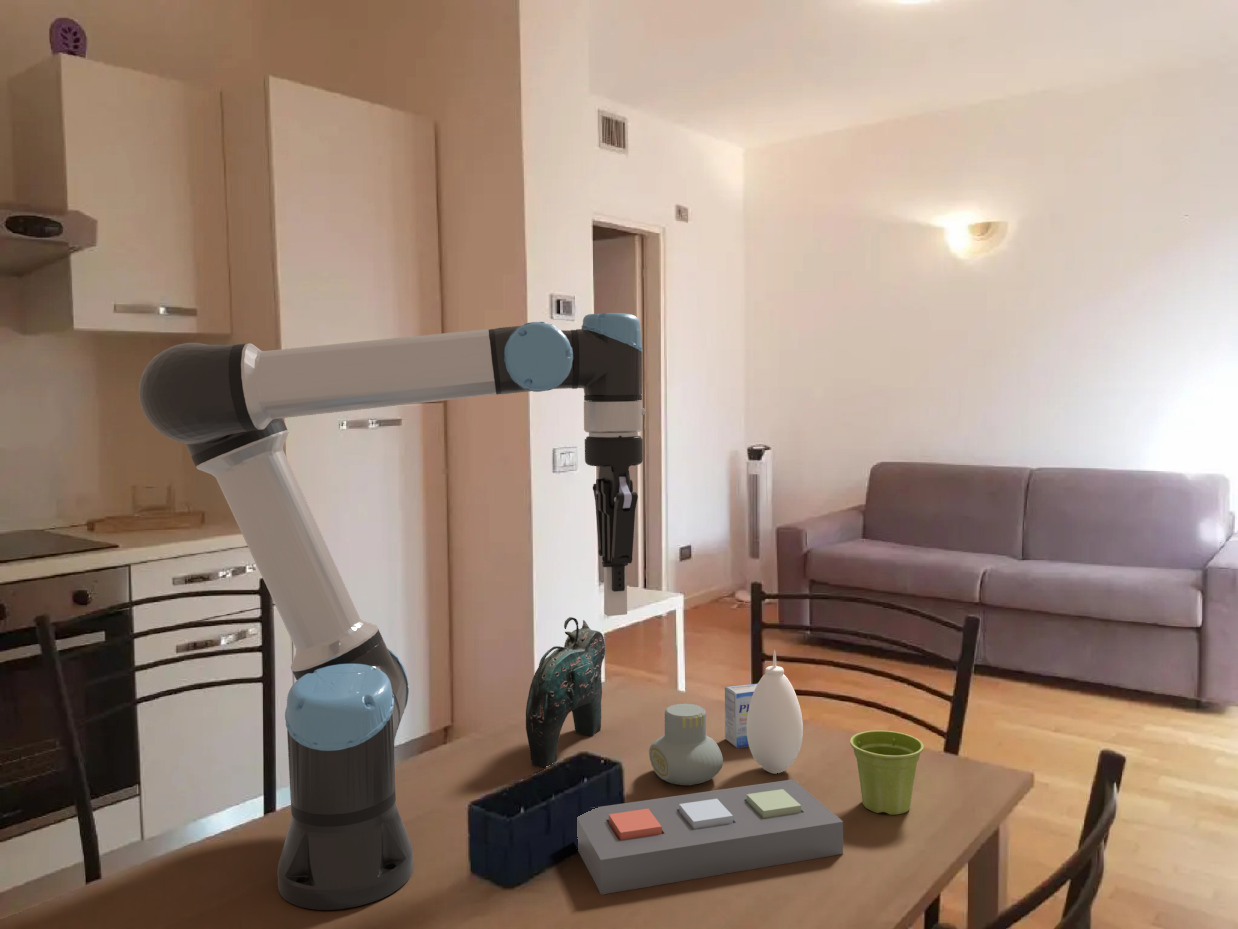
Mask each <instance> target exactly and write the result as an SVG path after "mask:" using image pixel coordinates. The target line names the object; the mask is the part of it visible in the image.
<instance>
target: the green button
mask: <svg viewBox="0 0 1238 929" xmlns="http://www.w3.org/2000/svg"><path fill="white" fill-rule="evenodd" d="M747 804H748V805H749V806H750V807H751V808H752V809H753V810H754V811H755V812H756V813H757V814H758V815H759V816H760V817H761V818H762V819H764V818H770V817H777V816H783V815H790V814H797V813H801V805H800V804H799V803H798V802H797V801H796V800H795V799H793V798H792V797H791V796H790V795H789V794H788V793H787V792H786V791H785V790H783V789H780V790H773V791H766V792H759V793H752V794H747Z"/></svg>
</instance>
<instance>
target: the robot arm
mask: <svg viewBox="0 0 1238 929" xmlns="http://www.w3.org/2000/svg"><path fill="white" fill-rule="evenodd" d="M641 331H642V330H641V321H640V320H639V318H638V317H637V316H636V315H634V314H631V313H625V312H621V313H620V312H606V313H589V314H587V315H585V316H584V317H583V319H582V325H581V328H580V329H579V328H576V329H570V330H563V329H560V328H558V326H556V325H554V324H553V323H552V324H551V323H548V322H547V321H531V322H526V323H524V324H522V325H516V326H503V327H495V328H490V329H489V328H483V329H474V330H464V331H454V332H453V331H452V332H444V333H433V334H432V333H431V334H425V335H416V336H415V335H413V336H404V337H403V336H401V337H393V338H384V339H383V338H382V339H373V340H364V341H353V342H344V343H334V344H323V345H313V346H304V347H295V348H294V347H291V348H283V349H281V348H280V349H274V350H272V349H271V350H261V349H260V348H259V347H257V346H256V345H254V344H253V343H251V342H250V343H240V344H207V343H201V342H186V343H179V344H175V345H173V346H171V347H168V348H166V349H164V350H162V351H160V353H158V354H156V355H155V356H154V357H153V358H152V359H151V360H150V361H149V362H148V363H147V365H146V366H145V368H144V369H143V371H142V374H141V376H140V379H139V386H138V399H139V400H138V401H139V404H140V408H141V411H142V412H143V415H144V417H145V418H146V421H147V422H149V424H150V425H151V426H152V427H153V428H154V429H155V430H156V431H157V432H158V433H159V434H161V435H162V436H164V437H167V439H170V440H172V441H175V442H178V443H181V444H184V445H185V446H186V449H187V451H188V453H189V456H190V458H191V459H192V461H193V463H194V464H193V465H194V466H195V467H196V469H197V470H199V471H202V472H204V473H207V474H209V475H212V476H213V477H214V478H215V479H216V481H217V484H218V486H219V487H220V490H221V492H222V494H223V496H224V498H225V500H226V502H227V505H228V506H229V508H230V509H229V510H230V511H231V514H232V516H233V518H234V519H235V521H236V525H237V526H238V528H239V531H240V532H241V534H242V537H243V540H244V541H245V543H246V546H247V548H248V549H249V552H250V554H251V556H252V559H253V560H254V562H255V564H256V567H257V569H258V571H259V573H260V575H261V578H262V579H263V580H262V581H264V584H265V585H266V588H267V590H268V593H269V594H270V597H271V599H272V602H274V606H275V607H276V609H277V611H278V614H279V616H280V618H281V621H282V622H283V624H284V627H285V629H286V631H287V632H288V635H289V637H290V640H291V641H292V643H293V645H294V648H295V654H294V657H293V660H292V663H291V664H290V670H291V672H292V674H293V676H294V678H295V680H296V681H295V682H294V683H293V685H291V687H290V689H289V690H288V693H287V695H286V696H287V697H286V708H285V712H284V720H285V727H286V729H287V730H286V732H287V752H288V754H287V755H288V772H289V773H288V775H289V794H290V795H289V796H290V798H289V799H290V814H291V816H290V817H291V818H290V822H289V825H288V826H289V827H288V830H287V833H286V836H285V841H284V843H283V847H282V849H281V853H280V856H279V861H278V864H277V871H276V872H277V889H278V893H279V895H280V896H281V897H282V898H283V899H284V901H286V902H288V903H289V904H292V905H294V906H296V907H299V908H303V909H310V910H315V911H316V910H318V911H319V910H321V911H331V910H332V911H333V910H335V911H336V910H344V909H345V910H346V909H351V908H355V907H359V906H364V905H367V904H371V903H373V902H376V901H379V900H381V899H384V898H386V897H388V896H389V895H391V894H393V893H396V891H398V890H399V889H401V888H402V887H403V886H404V885H405V884H406V883H407V882H408V881H409V879H410V878H411V876H412V874H413V872H414V850H413V845H412V842H411V839H410V837H409V834H408V832H407V829H406V827H405V823H404V822H403V819H402V816H401V814H400V811H399V809H398V806H397V797H396V766H395V764H396V762H395V741H396V736H397V733H398V730H399V728H400V727H399V726H400V725H401V722H402V719H403V715H404V714H405V711H406V708H407V705H408V701H409V689H410V688H409V680H408V675H407V671H406V670H405V666H404V665H403V663H402V661H401V660H400V658H399V657H398V656H397V655H396V653H394V652H393V651H392V650H390V648H388V646H387V644H386V643H385V640H384V638H383V636H382V634H381V631H380V629H379V627H378V626H377V625H376V624H372V623H370V622H366V621H364V620H363V619H362V618H360V615H359V613H358V611H357V609H356V607H355V604H354V602H353V599H352V597H351V595H350V594H349V591H348V589H347V587H346V584H345V582H344V581H343V578H342V576H341V574H340V572H339V569H338V567H337V565H336V563H335V560H334V558H333V556H332V553H331V551H330V550H329V547H328V545H327V544H326V541H325V539H324V537H323V535H322V532H321V531H320V528H319V526H318V523H317V522H316V518H315V517H314V515H313V513H312V510H311V508H310V506H309V504H308V502H307V500H306V499H307V498H305V496H304V493H303V491H302V489H301V486H300V484H299V482H298V480H297V477H296V475H295V473H294V471H293V469H292V467H291V465H290V462H289V460H288V458H287V456H286V454H285V452H284V445H285V443H286V440H287V438H288V436H289V433H290V432H289V429H288V427H287V425H286V423H285V421H284V419H286V418H297V417H305V416H307V417H308V416H315V415H322V414H332V413H339V412H340V413H341V412H342V413H343V412H350V411H358V410H359V411H361V410H369V409H376V408H377V409H378V408H386V407H395V406H397V407H398V406H406V405H414V404H422V403H423V404H424V403H431V402H441V401H449V400H460V399H461V400H462V399H471V398H477V397H479V398H480V397H487V396H496V395H497V396H498V395H509V394H519V393H520V394H521V393H528V392H535V393H539V392H546V391H553V390H561V389H562V390H564V389H572V390H576V389H582V390H583V393H584V395H583V430H584V432H585V433H588V436H586V437H585V438H584V463H585V464H586V465H587V466H590V467H599V469H598V470H599V471H598V478H596V480H595V483H593V484H592V490H593V494H594V495H593V497H594V504H595V515H596V516H595V517H596V518H595V519H596V529H597V530H596V532H597V543H598V544H597V546H598V556H599V557H601V561H602V562H601V563H602V568H603V602H604V603H603V604H604V606H603V607H604V608H603V612H604V615H606V616H607V617H611V616H624V615H628V575H627V574H628V571H627V570H628V567H627V566H629V564H632V563H633V553H634V549H633V548H634V539H635V538H634V537H635V536H634V534H635V519H636V518H635V517H636V507H637V502H638V499H639V496H638V493H637V491H634V489H633V488H634V487H633V486H634V485H633V484H634V483H633V480H632V479H631V476H630V470H629V469H630V467H632V466H638V465H641V464H642V463H643V460H644V450H643V449H644V448H643V446H644V445H643V442H644V441H643V439H644V438H643V437H642V436H641V435H638V433H639V432H641V431H642V430H643V416H644V415H646V411H647V410H646V408H644V407H643V401H642V400H643V396H642V395H643V351H644V350H643V346H642V334H641V333H642V332H641Z"/></svg>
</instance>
